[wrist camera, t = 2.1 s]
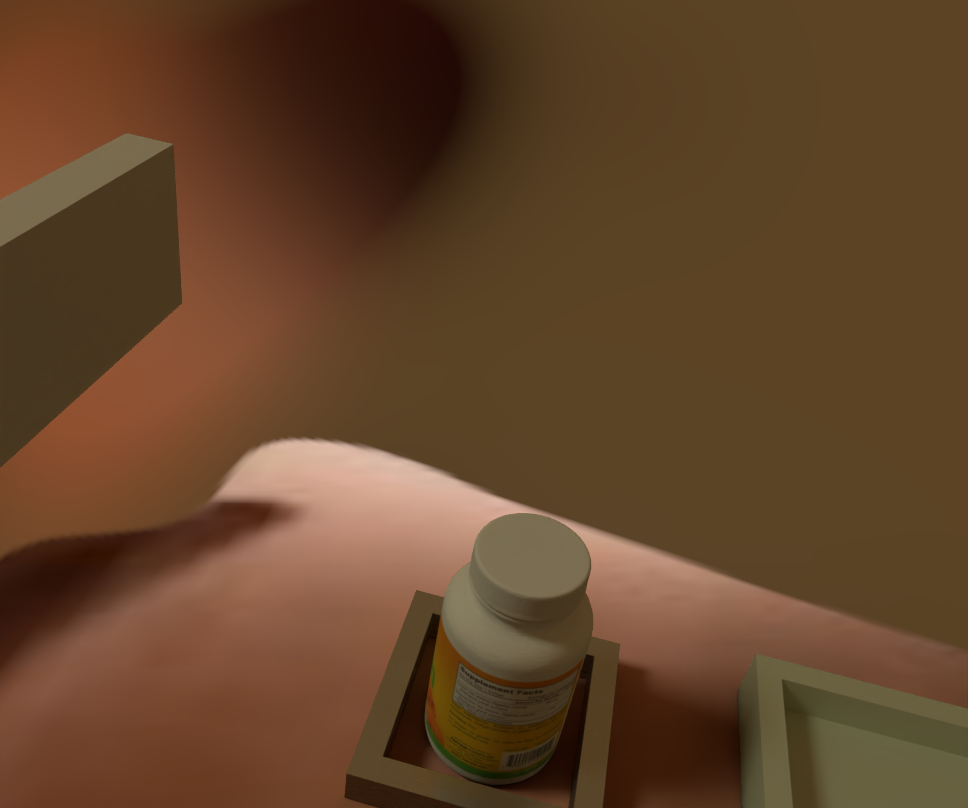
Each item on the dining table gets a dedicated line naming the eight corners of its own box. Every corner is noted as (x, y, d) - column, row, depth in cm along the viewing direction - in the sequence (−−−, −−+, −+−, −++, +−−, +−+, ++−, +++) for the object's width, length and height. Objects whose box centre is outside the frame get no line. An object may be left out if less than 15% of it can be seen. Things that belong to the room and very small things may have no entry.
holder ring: (612, 666, 38) (619, 644, 37) (589, 868, 31) (598, 845, 30) (413, 613, 39) (416, 590, 38) (344, 796, 31) (346, 773, 31)
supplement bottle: (454, 651, 37) (486, 479, 32) (573, 700, 36) (628, 530, 31) (400, 754, 33) (427, 576, 28) (533, 813, 32) (589, 639, 26)
